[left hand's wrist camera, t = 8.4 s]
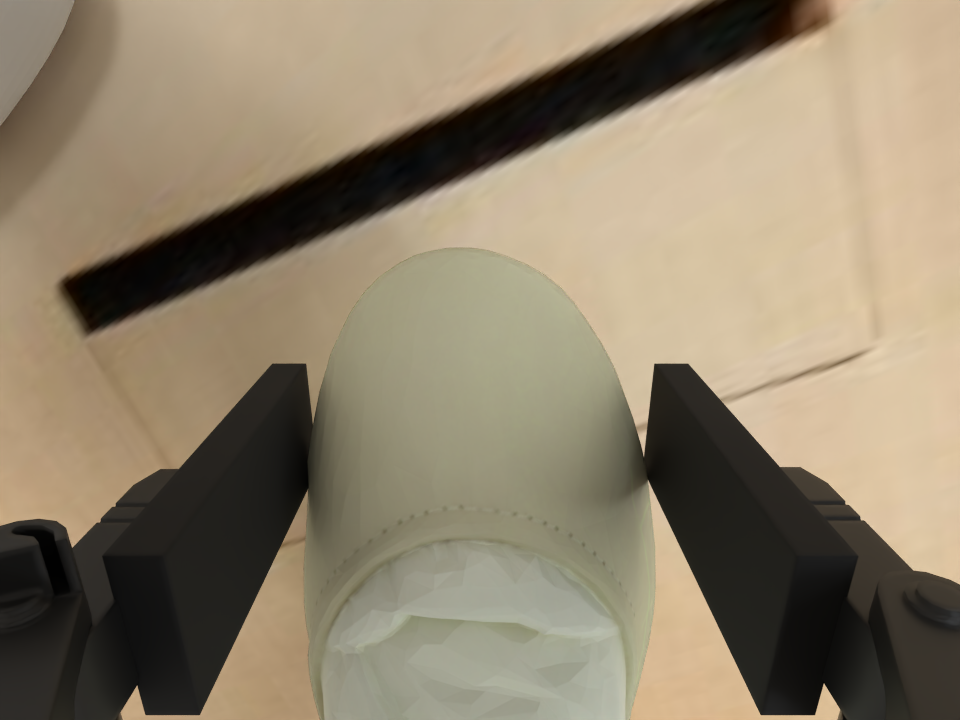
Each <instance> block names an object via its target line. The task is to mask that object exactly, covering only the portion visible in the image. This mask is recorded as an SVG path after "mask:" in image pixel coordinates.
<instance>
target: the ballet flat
mask: <svg viewBox="0 0 960 720" xmlns="http://www.w3.org/2000/svg"><path fill="white" fill-rule="evenodd" d="M654 602H655V541H654V532H653V522H652V513H651V504H650V495H649V486H648V477H647V469H646V465H645V461H644V456H643V452H642V448H641V444H640V440H639V437H638V434H637V430H636V427H635V423H634V420H633V417H632V414H631V411H630V409H629V406H628V403H627V400H626V398H625V395H624V392H623V389H622V387H621V384H620V381H619V378H618V376H617V373H616V370H615V368H614V366H613V364H612V362H611V360H610V358H609V356H608V354H607V352H606V351H605V349H604V347H603V345H602V343H601V342H600V340H599V339H598V337H597V335H596V334H595V332H594V331H593V329H592V328H591V326H590V325H589V323H588V322H587V320H586V318H585V317H584V316H583V314H582V313H581V312H580V310H579V309H578V307H577V306H576V305H575V303H574V302H573V301H572V300H571V299H570V297H569V296H568V295H567V294H566V293H565V292H564V291H563V290H562V288H561V287H559V286H558V285H557V284H556V283H554V282H553V281H552V280H550V279H549V278H548V277H547V276H545V275H544V274H542V273H541V272H539V271H537V270H536V269H534V268H532V267H530V266H529V265H527V264H525V263H522V262H520V261H517V260H515V259H512V258H510V257H507V256H505V255H501V254H498V253H495V252H492V251H489V250H483V249H476V248H445V249H439V250H434V251H429V252H425V253H422V254H418V255H415V256H413V257H411V258H409V259H407V260H405V261H403V262H401V263H399V264H398V265H396V266H395V267H393V268H392V269H390V270H389V271H387V272H386V273H384V274H383V275H382V276H380V277H379V278H378V279H377V280H376V281H375V282H374V283H373V284H372V285H371V286H370V287H369V288H368V289H367V290H366V291H365V292H364V293H363V295H362V296H361V298H360V299H359V300H358V302H357V303H356V305H355V306H354V308H353V309H352V311H351V312H350V314H349V316H348V318H347V320H346V322H345V324H344V326H343V328H342V331H341V333H340V335H339V337H338V339H337V341H336V343H335V346H334V348H333V350H332V353H331V355H330V358H329V362H328V365H327V369H326V372H325V376H324V379H323V382H322V386H321V389H320V393H319V398H318V403H317V407H316V412H315V417H314V423H313V428H312V434H311V441H310V448H309V455H308V507H307V524H306V540H305V556H304V606H305V618H306V626H307V632H308V637H309V649H308V663H309V675H310V680H311V685H312V690H313V695H314V699H315V703H316V707H317V710H318V714H319V718H320V720H630V716H631V710H632V706H633V703H634V699H635V696H636V692H637V688H638V684H639V681H640V677H641V673H642V669H643V665H644V660H645V656H646V652H647V648H648V644H649V638H650V632H651V626H652V620H653V614H654Z"/></svg>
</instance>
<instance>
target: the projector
mask: <svg viewBox="0 0 960 720" xmlns="http://www.w3.org/2000/svg"><path fill="white" fill-rule="evenodd" d="M74 2H75V0H0V126H1V124H2V123H3V122H4V121H5V119H6V118H7V117H8V116H9V114H10V113H11V111H12V110H13V109H14V107H15V106H16V105H17V103H18V102H19V100H20V99H21V98H22V96H23V95H24V94H25V92H26V91H27V89H28V88H29V87H30V85H31V84H32V82H33V81H34V79H35V78H36V76H37V74H38V73H39V71H40V70H41V68H42V67H43V65H44V63H45V62H46V60H47V59H48V57H49V56H50V54H51V52H52V50H53V48H54V46H55V44H56V43H57V41H58V39H59V37H60V35H61V33H62V31H63V29H64V27H65V25H66V22H67V20H68V17H69V15H70V12H71V10H72V7H73V5H74Z"/></svg>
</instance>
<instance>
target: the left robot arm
mask: <svg viewBox="0 0 960 720" xmlns="http://www.w3.org/2000/svg"><path fill="white" fill-rule="evenodd" d="M312 428H313V422H312V413H311V404H310V395H309V386H308V377H307V368H306V364H272V365H271V366H270V367H269V368H268V369H267V370H266V372H265V373H264V374H263V375H262V376H261V377H260V378H259V379H258V381H257V382H256V383H255V384H254V385H253V386H252V387H251V388H250V390H249V391H248V392H247V393H246V394H245V395H244V396H243V398H242V399H241V400H240V401H239V402H238V403H237V404H236V405H235V407H234V408H233V409H232V410H231V411H230V412H229V413H228V414H227V416H226V417H225V418H224V419H223V420H222V421H221V422H220V423H219V425H218V426H217V427H216V428H215V429H214V430H213V431H212V432H211V434H210V435H209V436H208V437H207V438H206V439H205V440H204V441H203V443H202V444H201V445H200V446H199V447H198V448H197V449H196V450H195V452H194V453H193V454H192V455H191V456H190V457H189V458H188V459H187V461H186V462H185V463H184V464H183V465H182V466H181V467H180V468H179V469H160V470H158V471H157V472H155V473H153V474H152V475H150V476H148V477H146V478H145V479H143V480H141V481H140V482H138V483H136V484H135V485H133V486H132V487H131V488H130V489H129V490H128V491H127V492H126V493H125V495H124V496H123V497H122V498H121V499H120V500H119V501H118V502H117V503H116V507H112V508H111V509H110V510H109V511H108V512H107V513H106V514H105V515H104V516H103V517H102V518H101V522H100V523H96V524H95V525H94V526H93V527H92V528H91V529H90V530H89V531H88V532H87V533H86V535H85V536H84V537H83V538H82V539H81V540H80V541H79V542H78V543H77V544H76V545H75V546H74V547H73V548H72V547H71V543H70V540H69V537H68V533H67V530H66V528H65V527H64V526H63V525H61V524H60V523H58V522H57V521H52V520H44V519H34V520H25V521H16V522H13V523H9V524H6V525H2V526H0V720H122V716H121V713H120V712H121V710H122V709H123V707H124V706H125V704H126V702H127V701H128V699H129V698H130V696H131V694H132V693H133V691H134V689H135V688H136V686H138V689H139V693H140V697H141V700H142V704H143V707H144V711H145V715H200V713H201V711H202V709H203V707H204V705H205V703H206V701H207V699H208V697H209V694H210V692H211V690H212V688H213V686H214V684H215V682H216V680H217V678H218V676H219V674H220V672H221V669H222V667H223V665H224V663H225V661H226V659H227V657H228V655H229V653H230V651H231V649H232V646H233V644H234V642H235V640H236V638H237V636H238V634H239V632H240V630H241V628H242V626H243V623H244V621H245V619H246V617H247V615H248V613H249V611H250V609H251V607H252V605H253V603H254V601H255V598H256V596H257V594H258V592H259V590H260V588H261V586H262V584H263V582H264V580H265V578H266V575H267V573H268V571H269V569H270V567H271V565H272V563H273V561H274V559H275V557H276V555H277V552H278V550H279V548H280V546H281V544H282V542H283V540H284V538H285V536H286V534H287V532H288V530H289V527H290V525H291V523H292V521H293V519H294V517H295V515H296V513H297V511H298V509H299V507H300V504H301V502H302V500H303V498H304V496H305V494H306V492H307V490H308V455H309V448H310V441H311V434H312ZM644 461H645V465H646V469H647V477H648V481H649V483H650V485H651V487H652V489H653V491H654V493H655V495H656V497H657V499H658V501H659V504H660V506H661V508H662V510H663V512H664V514H665V516H666V518H667V520H668V522H669V524H670V526H671V529H672V531H673V533H674V535H675V537H676V539H677V541H678V543H679V545H680V547H681V549H682V552H683V554H684V556H685V558H686V560H687V562H688V564H689V566H690V568H691V570H692V572H693V574H694V577H695V579H696V581H697V583H698V585H699V587H700V589H701V591H702V593H703V595H704V597H705V600H706V602H707V604H708V606H709V608H710V610H711V612H712V614H713V616H714V618H715V620H716V622H717V625H718V627H719V629H720V631H721V633H722V635H723V637H724V639H725V641H726V643H727V645H728V648H729V650H730V652H731V654H732V656H733V658H734V660H735V662H736V664H737V666H738V668H739V671H740V673H741V675H742V677H743V679H744V681H745V683H746V685H747V687H748V689H749V691H750V693H751V696H752V698H753V700H754V702H755V704H756V706H757V708H758V710H759V712H760V714H761V715H815V713H816V709H817V706H818V702H819V699H820V695H821V691H822V688H823V684H825V685H826V687H827V689H828V690H829V692H830V693H831V695H832V697H833V698H834V700H835V702H836V703H837V705H838V706H839V708H840V713H839V716H838V720H960V585H959V584H957V583H955V582H953V581H951V580H949V579H946V578H943V577H939V576H936V575H933V574H930V573H927V572H920V571H913V570H912V569H911V568H910V567H909V566H908V565H907V564H906V563H905V562H904V561H903V560H902V559H901V558H900V557H899V555H898V554H897V553H896V552H895V551H894V550H893V549H892V548H891V547H890V546H889V545H888V544H887V543H886V542H885V541H884V540H883V539H882V538H881V537H880V536H879V535H878V534H877V533H876V532H875V531H874V530H873V529H872V528H871V527H870V526H869V525H868V524H867V523H866V522H865V521H861V519H860V516H859V515H858V514H857V513H856V512H855V511H854V510H853V509H852V508H851V507H850V506H849V505H846V504H845V501H844V500H843V498H842V497H841V496H840V495H839V494H838V493H837V492H836V491H835V490H834V489H833V488H832V487H831V486H830V485H829V484H828V483H826V482H825V481H823V480H821V479H820V478H818V477H816V476H814V475H813V474H811V473H809V472H808V471H806V470H804V469H802V468H801V467H779V466H778V465H777V463H776V462H775V461H774V460H773V459H772V458H771V457H770V456H769V454H768V453H767V452H766V451H765V450H764V449H763V448H762V446H761V445H760V444H759V443H758V442H757V441H756V440H755V439H754V437H753V436H752V435H751V434H750V433H749V432H748V431H747V430H746V428H745V427H744V426H743V425H742V424H741V423H740V422H739V421H738V419H737V418H736V417H735V416H734V415H733V414H732V413H731V412H730V410H729V409H728V408H727V407H726V406H725V405H724V404H723V403H722V401H721V400H720V399H719V398H718V397H717V396H716V395H715V394H714V392H713V391H712V390H711V389H710V388H709V387H708V386H707V385H706V383H705V382H704V381H703V380H702V379H701V378H700V377H699V376H698V374H697V373H696V372H695V371H694V370H693V369H692V368H691V367H690V365H689V364H654V373H653V382H652V391H651V400H650V409H649V418H648V427H647V436H646V445H645V454H644Z"/></svg>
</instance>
